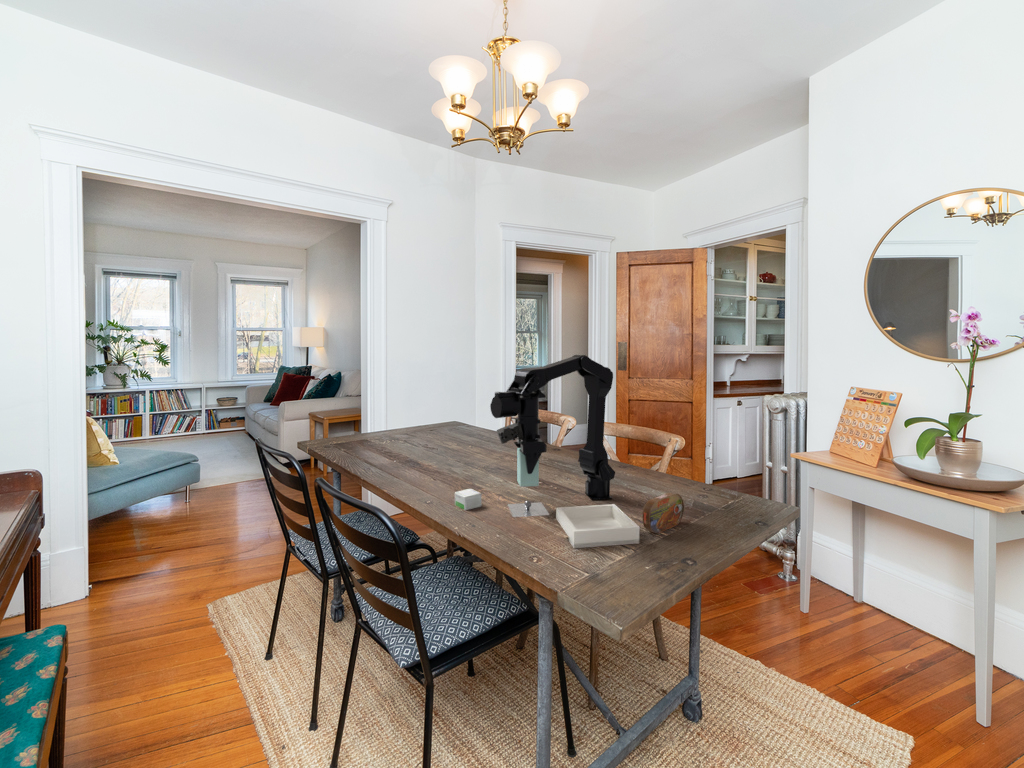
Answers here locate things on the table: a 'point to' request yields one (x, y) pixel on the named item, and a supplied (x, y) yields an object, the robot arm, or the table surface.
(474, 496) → the small box
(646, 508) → the tin
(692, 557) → the table surface
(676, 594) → the table surface
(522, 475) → the block
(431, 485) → the table surface
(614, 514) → the bin
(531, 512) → the stud plate
